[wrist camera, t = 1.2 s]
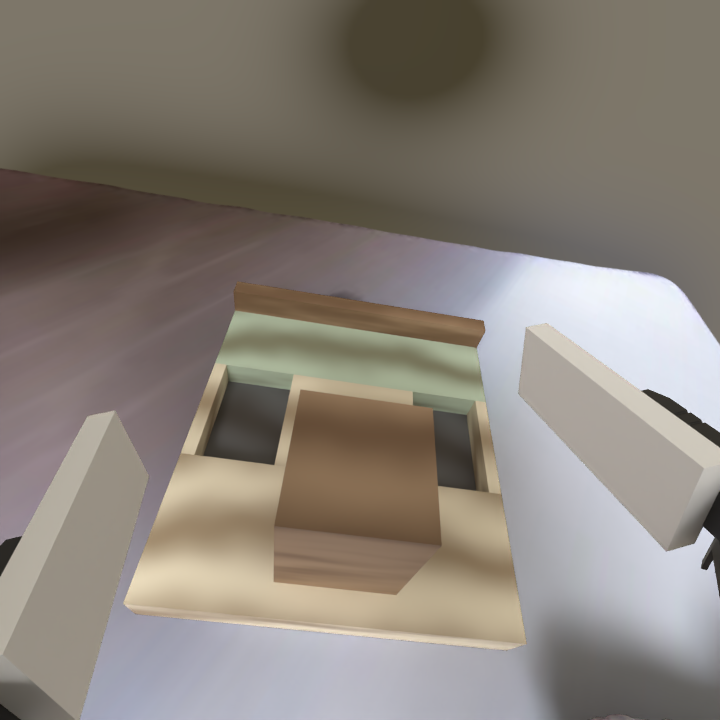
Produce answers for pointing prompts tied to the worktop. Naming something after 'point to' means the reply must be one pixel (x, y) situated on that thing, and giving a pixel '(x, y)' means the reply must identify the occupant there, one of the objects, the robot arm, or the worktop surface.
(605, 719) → the cell model
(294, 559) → the walnut block
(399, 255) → the worktop surface
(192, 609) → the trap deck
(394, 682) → the worktop surface
